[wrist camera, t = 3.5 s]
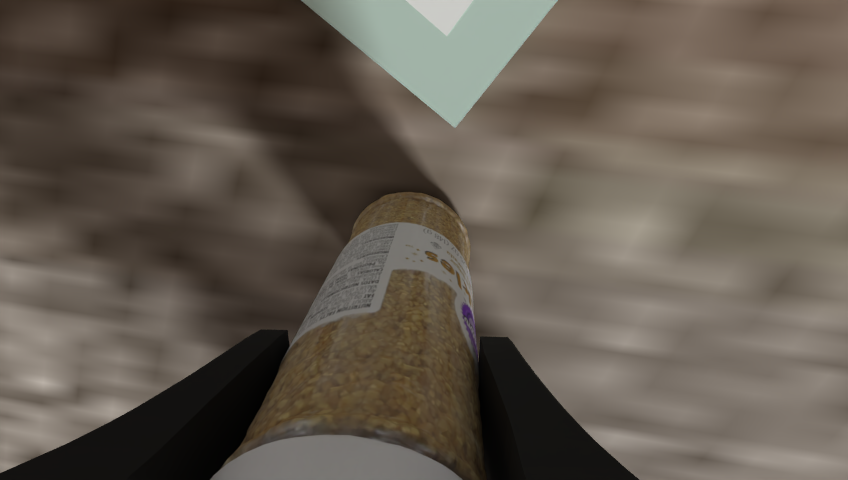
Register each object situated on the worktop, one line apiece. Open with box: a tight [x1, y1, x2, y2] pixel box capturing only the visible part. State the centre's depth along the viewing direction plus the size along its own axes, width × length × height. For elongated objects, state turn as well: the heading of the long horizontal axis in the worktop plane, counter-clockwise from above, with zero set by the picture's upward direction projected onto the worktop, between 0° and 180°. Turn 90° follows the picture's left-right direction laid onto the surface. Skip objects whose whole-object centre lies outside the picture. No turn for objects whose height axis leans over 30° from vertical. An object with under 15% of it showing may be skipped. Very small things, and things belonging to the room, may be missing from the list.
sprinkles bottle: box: [210, 192, 487, 480], centre depth 11 cm, size 5×4×14 cm
